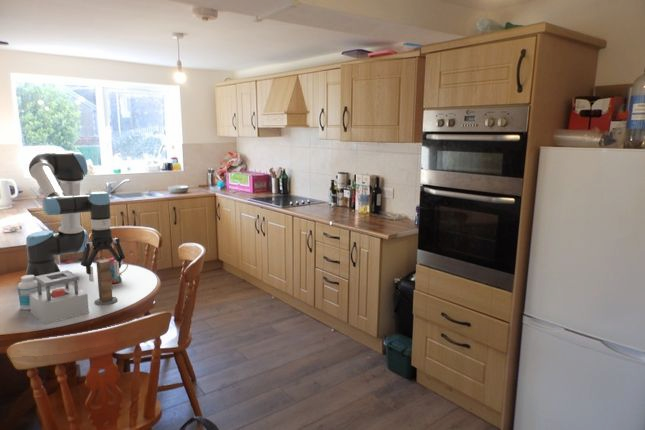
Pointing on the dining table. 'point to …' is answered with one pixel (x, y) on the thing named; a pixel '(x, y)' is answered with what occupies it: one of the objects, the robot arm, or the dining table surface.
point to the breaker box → (58, 298)
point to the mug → (113, 277)
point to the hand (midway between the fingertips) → (104, 278)
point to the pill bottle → (26, 290)
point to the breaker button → (58, 293)
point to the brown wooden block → (104, 280)
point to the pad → (105, 302)
